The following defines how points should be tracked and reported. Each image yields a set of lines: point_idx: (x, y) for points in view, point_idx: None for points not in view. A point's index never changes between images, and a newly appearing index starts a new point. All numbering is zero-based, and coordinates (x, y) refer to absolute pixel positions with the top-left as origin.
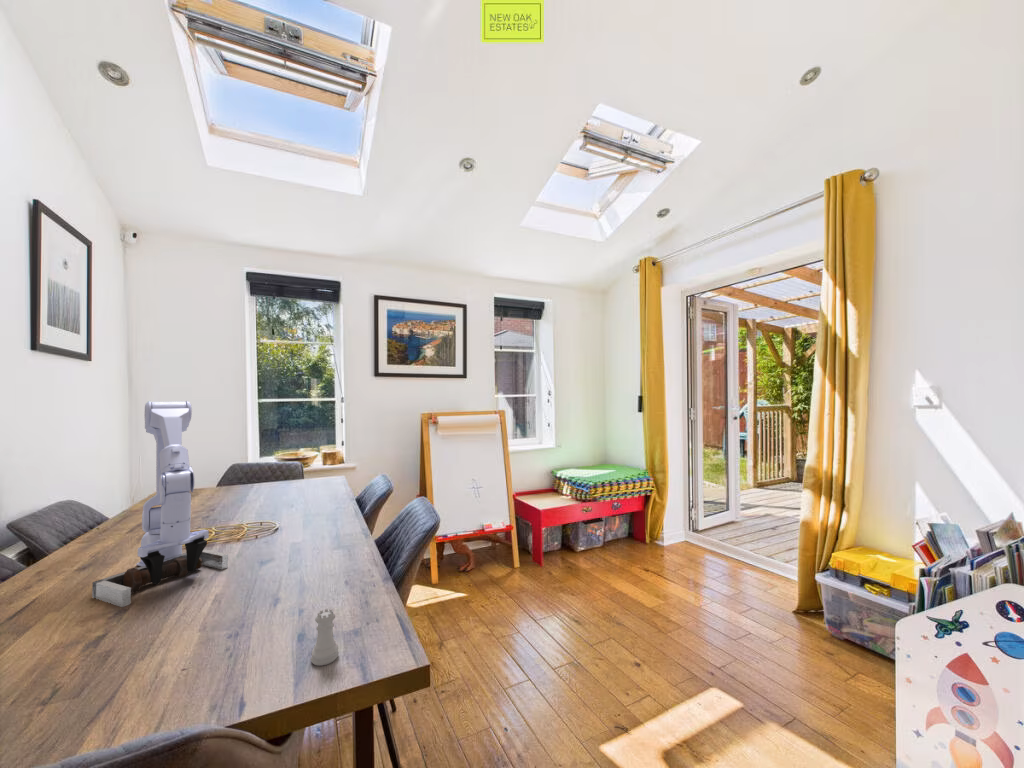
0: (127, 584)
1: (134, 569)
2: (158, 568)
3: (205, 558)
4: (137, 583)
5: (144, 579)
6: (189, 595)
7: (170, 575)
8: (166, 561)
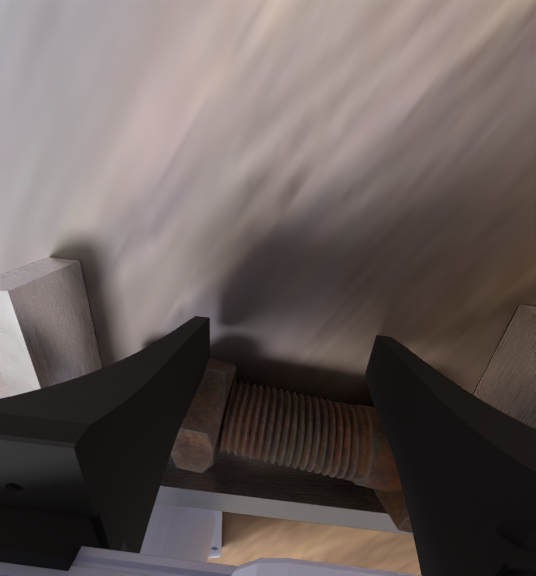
0: None
1: None
2: (461, 396)
3: None
4: None
5: None
6: (396, 84)
7: (267, 387)
8: (220, 489)
